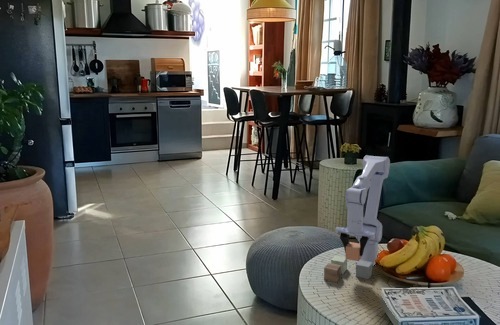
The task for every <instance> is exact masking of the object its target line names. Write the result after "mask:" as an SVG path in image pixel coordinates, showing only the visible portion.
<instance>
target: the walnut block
mask: <svg viewBox="0 0 500 325" xmlns="http://www.w3.org/2000/svg"><path fill="white" fill-rule="evenodd" d="M341 278H342V274H341V265H337V264H332V263H331V262H328V263H327V264H326V265H325V266H324V268H323V280H324V281H328V282H333V283H338V282H339V280H341Z"/></svg>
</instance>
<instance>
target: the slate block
mask: <svg viewBox="0 0 500 325" xmlns="http://www.w3.org/2000/svg"><path fill="white" fill-rule="evenodd" d="M372 274H373V266H372V262H369V261H364V260H359V261H358V263H356V264H355V278H360V279H365V280H369V279H370V278H371V277H372Z"/></svg>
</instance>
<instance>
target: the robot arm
mask: <svg viewBox="0 0 500 325" xmlns="http://www.w3.org/2000/svg"><path fill="white" fill-rule="evenodd" d="M390 167H391V160H390V158H389V156H378V155H377V156H376V155H375V156H374V155H368V154H366V155H365V156H364V157H363V160H362V168H363V170H362V173H361V175H359V176H357V177H356V179H355V181H354V182H353V183H352V186H351V187H349V188H347V189H346V192H345V196H344V197H345V198H344V199H345V203H346V204H345V207H346V208H347V217H346V218H347V219H346V223H347V224H346V227H341V226H339V227H338V226H336V227H335V228H334V229H335V230H334V234H337V235H338V234H340V235H339V239H340V241H341V242H342V245H343V248H344V253H345V254H346V246H347V245H348V243H349V242H350V236H351V237H355V239H357V242H358V243H359V244H360V256H362V257H361V259H360V260H364V261H369V262H372V267H375V266H374V261H375V259H376V257H377V255H378V256H379V243H380V242H381V240H382V238H383V224H382V222H380V220H378V218H377V217H378V212H379V206H380V199H381V193H382V188H383V184H384V180H385V179H388V177H389V174H390ZM366 199H367V200H366ZM365 203H366V206H365V207H366V208H365V213H364V205H365ZM355 263H356V264H357V263H358V261H355Z"/></svg>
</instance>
